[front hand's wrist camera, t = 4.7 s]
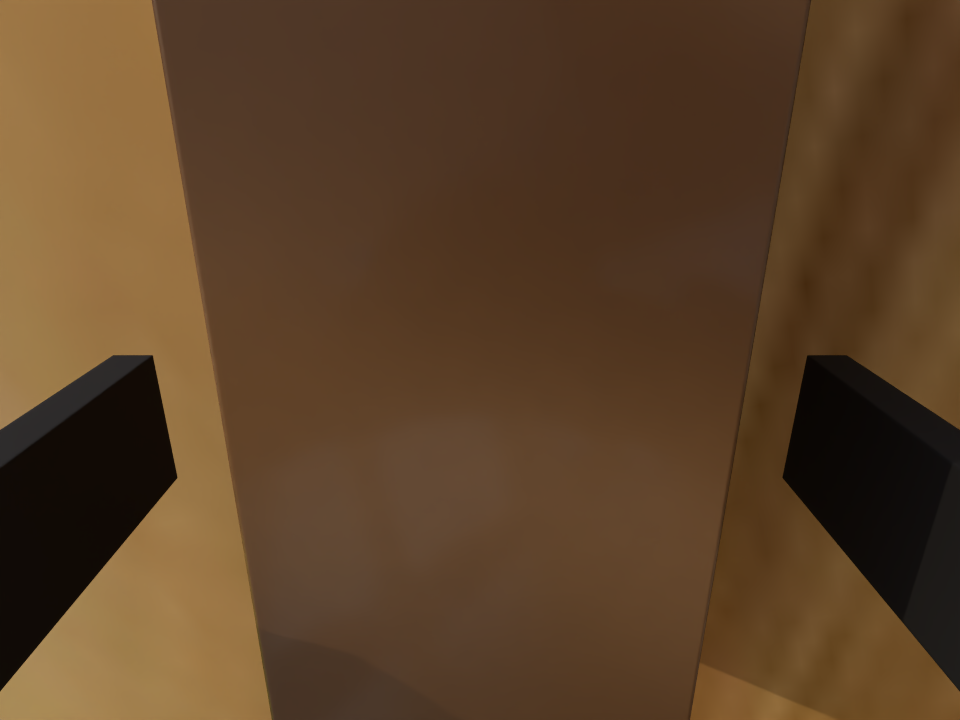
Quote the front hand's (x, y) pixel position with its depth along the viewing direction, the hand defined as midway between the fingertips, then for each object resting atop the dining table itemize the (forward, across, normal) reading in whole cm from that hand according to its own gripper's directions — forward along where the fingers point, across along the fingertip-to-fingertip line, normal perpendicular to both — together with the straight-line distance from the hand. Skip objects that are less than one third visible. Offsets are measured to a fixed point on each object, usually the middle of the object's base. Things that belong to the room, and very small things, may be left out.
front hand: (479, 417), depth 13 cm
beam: (+2, 0, -38) cm, 38 cm away
